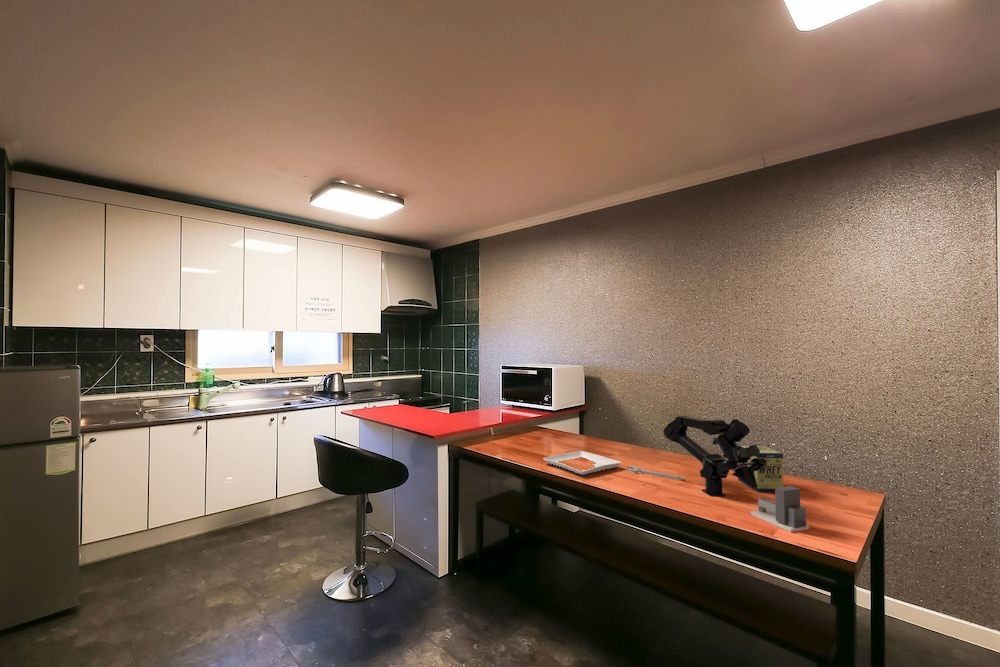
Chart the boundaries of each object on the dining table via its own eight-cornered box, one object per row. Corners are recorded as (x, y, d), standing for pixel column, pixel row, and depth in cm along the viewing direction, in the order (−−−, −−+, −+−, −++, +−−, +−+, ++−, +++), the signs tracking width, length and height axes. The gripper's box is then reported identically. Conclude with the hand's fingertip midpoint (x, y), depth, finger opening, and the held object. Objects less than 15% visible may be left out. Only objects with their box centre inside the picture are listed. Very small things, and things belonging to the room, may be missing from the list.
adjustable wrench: (684, 480, 183) (684, 476, 183) (679, 484, 179) (679, 480, 179) (629, 468, 200) (629, 465, 200) (624, 471, 195) (624, 468, 195)
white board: (750, 514, 145) (750, 511, 145) (768, 511, 148) (768, 508, 148) (790, 532, 132) (790, 528, 132) (809, 529, 134) (809, 525, 134)
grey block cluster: (755, 511, 145) (755, 494, 146) (766, 509, 147) (766, 492, 147) (794, 528, 132) (794, 509, 132) (805, 526, 134) (805, 507, 134)
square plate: (622, 469, 199) (622, 461, 199) (582, 479, 183) (582, 470, 183) (581, 456, 221) (581, 449, 221) (542, 464, 205) (542, 457, 206)
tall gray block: (775, 520, 137) (775, 487, 137) (791, 517, 139) (791, 485, 139) (784, 524, 134) (783, 490, 135) (800, 521, 136) (799, 488, 137)
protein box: (757, 492, 168) (757, 453, 168) (737, 479, 183) (737, 444, 184) (784, 492, 167) (783, 453, 168) (761, 480, 183) (761, 444, 183)
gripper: (723, 438, 151) (749, 479, 140) (762, 435, 156) (791, 474, 146) (706, 454, 158) (730, 494, 147) (744, 451, 164) (770, 489, 153)
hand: (756, 487), depth 148 cm, fingers closed
